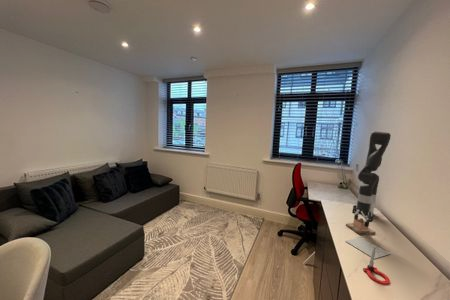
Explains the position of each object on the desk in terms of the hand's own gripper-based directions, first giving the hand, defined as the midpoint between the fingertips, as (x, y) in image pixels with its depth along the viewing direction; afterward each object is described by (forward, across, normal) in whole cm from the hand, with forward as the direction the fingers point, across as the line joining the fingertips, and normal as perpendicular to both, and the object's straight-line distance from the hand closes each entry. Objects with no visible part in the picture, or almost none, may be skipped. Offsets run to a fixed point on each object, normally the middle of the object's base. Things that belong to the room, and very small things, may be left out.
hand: (360, 223), depth 134 cm
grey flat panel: (+5, -22, +8) cm, 24 cm away
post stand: (+5, 0, 0) cm, 5 cm away
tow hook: (+5, -40, +29) cm, 50 cm away
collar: (+3, 0, 0) cm, 3 cm away
